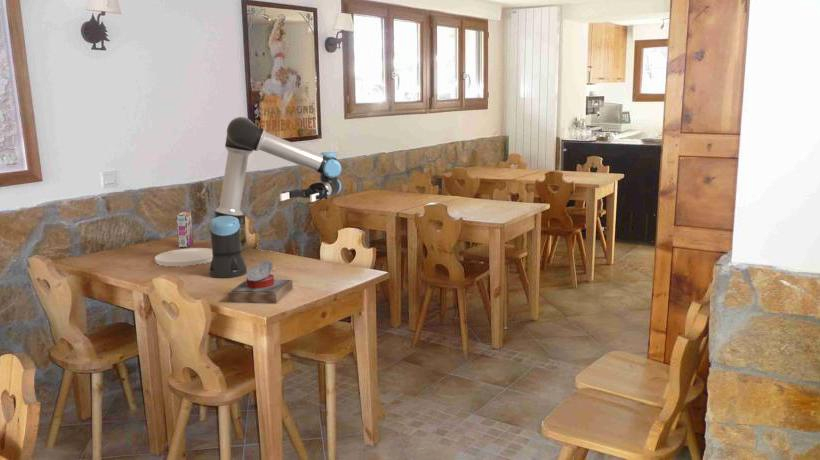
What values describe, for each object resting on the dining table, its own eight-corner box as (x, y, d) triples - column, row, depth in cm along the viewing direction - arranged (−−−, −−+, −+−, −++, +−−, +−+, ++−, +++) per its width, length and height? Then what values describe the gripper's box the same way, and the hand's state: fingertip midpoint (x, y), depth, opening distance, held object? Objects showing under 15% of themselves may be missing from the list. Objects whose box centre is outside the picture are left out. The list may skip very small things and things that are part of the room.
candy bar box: (188, 247, 338) (186, 215, 335) (178, 248, 338) (175, 215, 335) (193, 243, 349) (191, 211, 346) (183, 243, 349) (181, 211, 346)
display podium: (228, 302, 246) (227, 291, 245) (247, 288, 263) (247, 278, 263) (276, 303, 243) (275, 292, 242) (292, 289, 260) (292, 279, 260)
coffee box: (239, 251, 327) (237, 218, 324) (227, 251, 329) (224, 218, 325) (247, 247, 336) (245, 215, 333) (235, 247, 337) (233, 214, 334)
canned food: (274, 297, 252) (277, 277, 246) (246, 297, 249) (248, 277, 243) (271, 277, 261) (274, 257, 255) (244, 277, 257) (246, 256, 252)
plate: (183, 270, 295) (183, 264, 295) (141, 263, 310) (141, 257, 310) (232, 256, 319) (231, 251, 318) (190, 250, 333) (190, 245, 333)
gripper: (346, 200, 290) (324, 208, 271) (294, 198, 298) (268, 206, 279) (345, 182, 289) (323, 189, 269) (293, 181, 297) (267, 188, 277)
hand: (295, 198), depth 274 cm, fingers open, 13 cm apart
